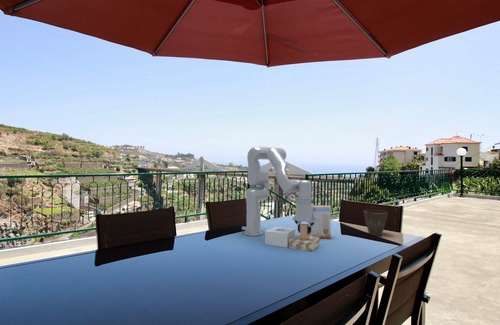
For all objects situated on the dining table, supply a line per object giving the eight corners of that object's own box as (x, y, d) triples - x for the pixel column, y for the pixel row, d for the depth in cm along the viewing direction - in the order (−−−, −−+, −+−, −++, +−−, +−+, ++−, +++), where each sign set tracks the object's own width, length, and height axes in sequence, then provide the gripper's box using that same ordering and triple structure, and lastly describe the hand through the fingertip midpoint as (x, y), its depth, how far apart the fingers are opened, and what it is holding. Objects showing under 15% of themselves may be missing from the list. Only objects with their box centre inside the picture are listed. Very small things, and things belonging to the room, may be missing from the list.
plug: (299, 245, 168) (300, 224, 168) (302, 243, 172) (302, 223, 172) (306, 246, 166) (306, 225, 166) (308, 244, 170) (308, 224, 170)
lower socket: (288, 247, 166) (288, 240, 166) (296, 242, 178) (296, 234, 178) (312, 251, 159) (313, 243, 159) (319, 245, 172) (319, 237, 172)
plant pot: (388, 234, 201) (388, 210, 201) (385, 238, 189) (385, 213, 189) (366, 231, 209) (366, 209, 209) (361, 235, 197) (361, 211, 197)
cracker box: (329, 236, 192) (329, 205, 192) (330, 239, 186) (330, 206, 186) (307, 236, 194) (307, 204, 194) (308, 238, 188) (308, 206, 188)
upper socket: (265, 244, 173) (265, 230, 173) (274, 239, 185) (274, 226, 185) (287, 247, 166) (287, 233, 166) (295, 242, 179) (295, 229, 179)
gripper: (288, 201, 170) (288, 232, 170) (317, 203, 162) (317, 236, 162) (292, 199, 176) (292, 229, 176) (320, 201, 168) (320, 233, 168)
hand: (304, 232), depth 169 cm, fingers open, 5 cm apart
